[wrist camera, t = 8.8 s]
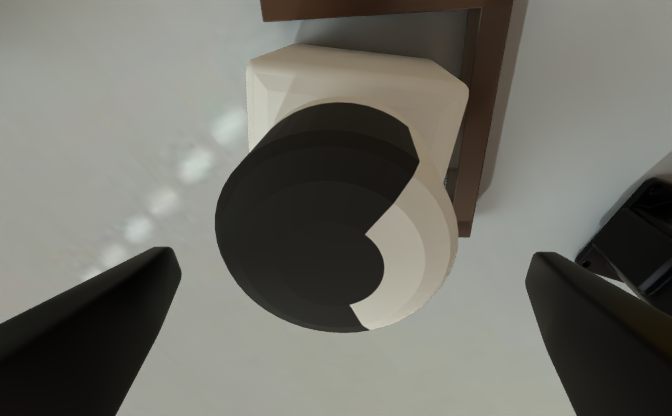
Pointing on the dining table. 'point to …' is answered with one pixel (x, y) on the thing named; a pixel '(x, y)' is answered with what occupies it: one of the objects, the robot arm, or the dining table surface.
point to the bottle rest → (476, 72)
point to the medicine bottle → (343, 186)
